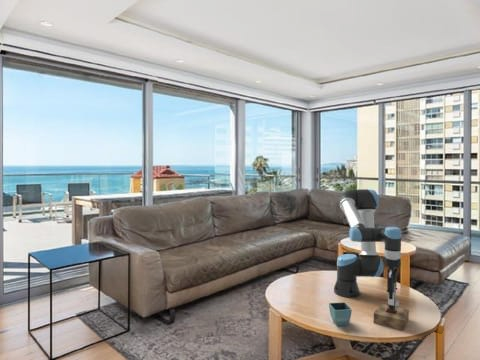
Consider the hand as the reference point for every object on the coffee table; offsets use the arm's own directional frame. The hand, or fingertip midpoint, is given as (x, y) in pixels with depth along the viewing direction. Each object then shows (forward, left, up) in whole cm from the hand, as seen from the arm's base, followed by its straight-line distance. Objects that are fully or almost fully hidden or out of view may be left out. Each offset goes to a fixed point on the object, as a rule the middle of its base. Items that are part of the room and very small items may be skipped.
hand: (391, 303), depth 169 cm
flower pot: (-21, -17, -10) cm, 29 cm away
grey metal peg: (0, 0, -3) cm, 3 cm away
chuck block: (0, +6, -9) cm, 11 cm away
